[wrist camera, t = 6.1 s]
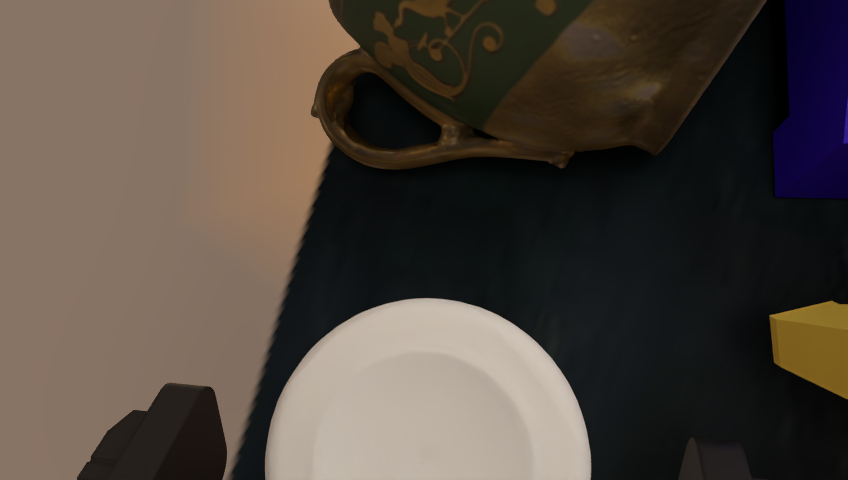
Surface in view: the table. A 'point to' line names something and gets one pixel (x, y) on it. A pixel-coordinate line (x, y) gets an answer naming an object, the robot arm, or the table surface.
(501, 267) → the table surface
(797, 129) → the tape dispenser
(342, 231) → the table surface
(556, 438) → the sprinkles bottle
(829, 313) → the teapot
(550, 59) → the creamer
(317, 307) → the table surface
